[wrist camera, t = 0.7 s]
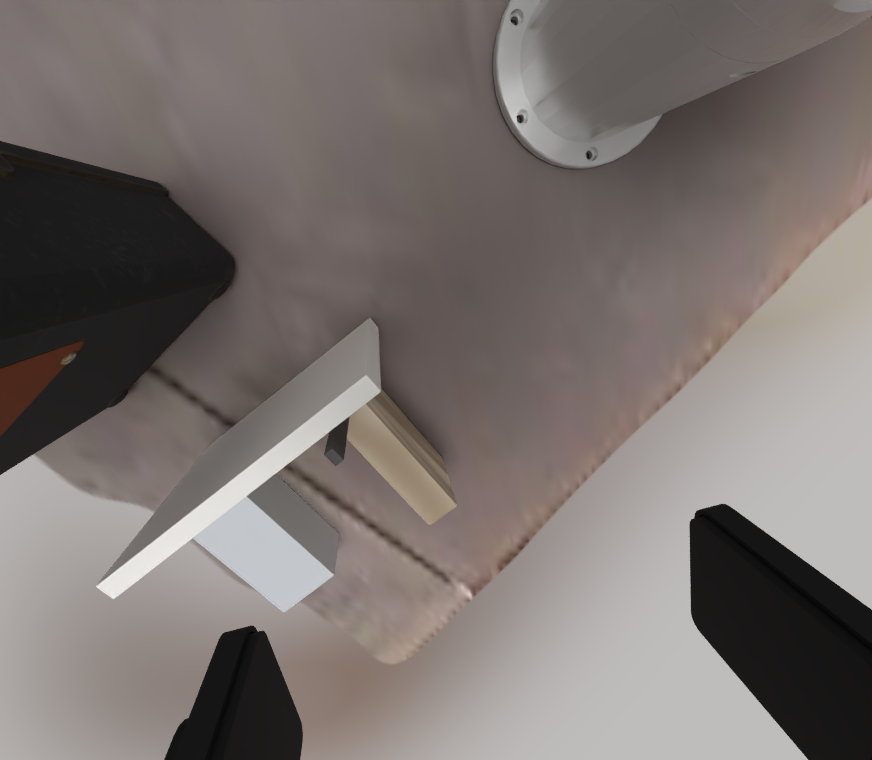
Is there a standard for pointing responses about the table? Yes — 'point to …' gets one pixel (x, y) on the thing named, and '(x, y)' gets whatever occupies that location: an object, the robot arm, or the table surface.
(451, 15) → the table surface
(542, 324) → the table surface
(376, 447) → the tall beige wooden block
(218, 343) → the table surface
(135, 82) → the table surface
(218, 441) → the white board with blocks
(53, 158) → the voltmeter
